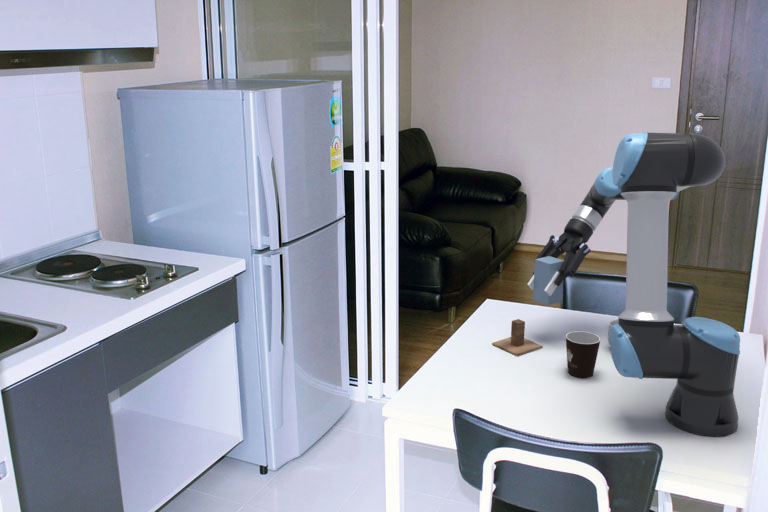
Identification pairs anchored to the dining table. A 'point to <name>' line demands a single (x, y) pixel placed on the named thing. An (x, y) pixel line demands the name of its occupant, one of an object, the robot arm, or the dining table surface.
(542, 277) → the pale blue tall brick
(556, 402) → the dining table surface
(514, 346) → the square wooden base plate
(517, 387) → the dining table surface
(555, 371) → the dining table surface
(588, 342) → the coffee mug
